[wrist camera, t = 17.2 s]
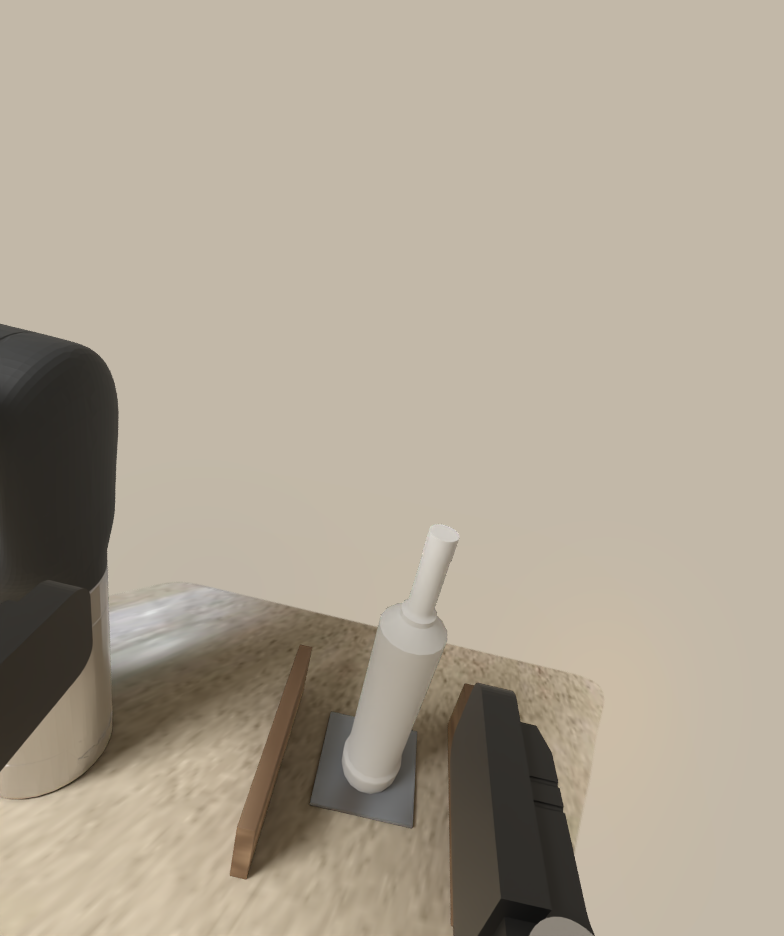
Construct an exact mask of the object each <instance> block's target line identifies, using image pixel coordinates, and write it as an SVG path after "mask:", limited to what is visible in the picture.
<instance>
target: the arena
mask: <svg viewBox="0 0 784 936" xmlns="http://www.w3.org/2000/svg"><path fill="white" fill-rule="evenodd" d="M311 651H312V647H309V646H304V645H300V646H299V649H298V651H297V654H296V657H295V660H294V663H293V666H292V669H291V672H290V675H289V678H288V680H287V683H286V686H285V689H284V692H283V695H282V698H281V701H280V704H279V707H278V710H277V712H276V715H275V718H274V721H273V724H272V727H271V730H270V733H269V736H268V739H267V742H266V744H265V747H264V750H263V753H262V756H261V759H260V762H259V765H258V768H257V771H256V773H255V776H254V779H253V782H252V785H251V788H250V791H249V794H248V797H247V800H246V803H245V805H244V808H243V811H242V814H241V817H240V820H239V823H238V826H237V831H236V837H235V844H234V850H233V857H232V864H231V870H230V876H234V877H238V878H242V879H247V876H248V872H249V869H250V866H251V862H252V859H253V856H254V853H255V849H256V846H257V843H258V839H259V836H260V833H261V829H262V826H263V823H264V819H265V816H266V813H267V809H268V806H269V803H270V799H271V796H272V793H273V790H274V786H275V783H276V780H277V776H278V773H279V770H280V766H281V763H282V760H283V756H284V753H285V750H286V746H287V743H288V740H289V736H290V733H291V730H292V727H293V723H294V720H295V717H296V713H297V710H298V707H299V703H300V700H301V697H302V693H303V690H304V685H305V680H306V675H307V670H308V666H309V661H310V656H311ZM473 687H474V685H470V684H464V686H463V689H462V691H461V694H460V696H459V698H458V701H457V703H456V706H455V708H454V711H453V713H452V716H451V718H450V720H449V723H448V773H449V833H450V894H451V926H453V883H452V833H451V782H450V756H451V747H452V741H453V736H454V733H455V730H456V727H457V725H458V722H459V720H460V718H461V715H462V713H463V711H464V708H465V706H466V703H467V701H468V699H469V696H470V694H471V692H472V689H473ZM354 719H355V717H353V716H349V715H344V714H340V713H336V712H332V711H331V714H330V718H329V723H328V727H327V731H326V736H325V740H324V744H323V749H322V753H321V757H320V762H319V766H318V770H317V775H316V779H315V784H314V788H313V792H312V797H311V801H310V805H313V806H317V807H321V808H326V809H330V810H334V811H339V812H343V813H347V814H352V815H356V816H360V817H365V818H369V819H373V820H378V821H382V822H386V823H391V824H395V825H399V826H404V827H408V828H412V827H413V809H414V788H415V766H416V744H417V731H413V730H411V733H410V735H409V738H408V740H407V743H406V745H405V748H404V750H403V753H402V758H401V767H400V769H399V772H398V773H397V775H396V777H395V779H394V781H393V782H392V784H391V785H390V786H389V787H387V788H386V789H384V790H383V791H382V792H379V793H373V794H368V793H364V792H360V791H358V790H357V789H356V788H354V787H353V786H351V785H350V783H349V782H348V780H347V779H346V777H345V776H344V771H343V766H342V755H343V750H344V745H345V741H346V740H347V738H348V737H349V736H350V734H351V731H352V727H353V723H354Z"/></svg>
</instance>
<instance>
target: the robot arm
mask: <svg viewBox="0 0 784 936" xmlns="http://www.w3.org/2000/svg"><path fill="white" fill-rule="evenodd" d="M117 442H118V399H117V393H116V388H115V383H114V380H113V378H112V375H111V372H110V370H109V368H108V367H107V365H106V363H105V362H104V360H103V359H102V358H101V357H100V356H99V355H98V354H97V353H95V352H94V351H93V350H91V349H90V348H88V347H85V346H83V345H80V344H78V343H75V342H71V341H67V340H63V339H60V338H56V337H52V336H48V335H44V334H40V333H36V332H32V331H28V330H24V329H19V328H15V327H11V326H7V325H3V324H0V797H2V798H7V799H25V798H31V797H37V796H40V795H43V794H46V793H49V792H52V791H55V790H57V789H59V788H61V787H63V786H65V785H67V784H69V783H70V782H72V781H73V780H75V779H76V778H78V777H79V776H81V775H82V774H83V773H84V772H85V771H87V770H88V769H89V768H90V767H91V766H92V765H93V764H94V763H95V762H96V761H97V759H98V758H99V757H100V755H101V754H102V753H103V751H104V749H105V748H106V746H107V744H108V742H109V739H110V736H111V732H112V716H113V711H112V685H111V654H110V624H109V597H108V570H107V569H108V568H107V548H108V543H109V538H110V534H111V529H112V524H113V519H114V511H115V482H116V458H117ZM450 782H451V833H452V883H453V933H454V936H595V935H594V933H593V930H592V928H591V925H590V922H589V919H588V915H587V912H586V908H585V903H584V898H583V894H582V889H581V884H580V880H579V875H578V871H577V866H576V861H575V857H574V852H573V848H572V843H571V838H570V834H569V829H568V825H567V820H566V816H565V813H563V807H564V806H563V802H562V797H561V793H560V788H558V779H557V774H556V770H555V765H554V760H553V756H552V752H551V751H550V749H549V747H548V745H547V744H546V742H545V740H544V738H543V737H542V735H541V733H540V731H539V730H538V728H537V726H535V725H531V724H527V723H522V722H520V717H519V711H518V705H517V699H516V696H515V693H514V692H513V691H510V690H506V689H502V688H498V687H493V686H489V685H485V684H481V683H476V684H475V685H474V687H473V689H472V692H471V694H470V696H469V699H468V701H467V703H466V706H465V708H464V711H463V713H462V715H461V718H460V720H459V722H458V725H457V727H456V730H455V733H454V736H453V741H452V747H451V756H450Z"/></svg>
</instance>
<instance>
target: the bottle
mask: <svg viewBox="0 0 784 936" xmlns="http://www.w3.org/2000/svg"><path fill="white" fill-rule="evenodd" d="M458 540H459V534H458V533H457V531H455V530H454V529H453V528H451V527H449V526H446V525H442V524H436V525H432V526H431V527H430V529H429V532H428V536H427V539H426V543H425V545H424V549H423V555H422V558H421V561H420V565H419V567H418V571H417V574H416V577H415V580H414V584H413V587H412V590H411V593H410V596H409V599H407V600H405V601H404V602H403V603H398V604H395V605H393V606H390V607H388V608H387V609H386V610H385V611H384V612H383V613H382V614H381V617H380V621H379V625H378V629H377V633H376V637H375V641H374V645H373V649H372V653H371V656H370V660H369V664H368V668H367V672H366V676H365V680H364V684H363V688H362V692H361V696H360V700H359V703H358V707H357V711H356V715H355V719H354V723H353V727H352V731H351V734H350V736H349V737H348V738H347V740H346V741H345V745H344V750H343V755H342V766H343V771H344V776H345V777H346V779H347V780H348V782H349V783H350V785H351V786H353V787H354V788H356V789H357V790H358V791H360V792H364V793H368V794H373V793H379V792H382V791H383V790H384V789H386V788H387V787H389V786H390V785H391V784H392V782H393V781H394V779H395V777H396V775H397V773H398V772H399V769H400V767H401V758H402V753H403V750H404V748H405V745H406V743H407V740H408V738H409V735H410V733H411V730H412V728H413V725H414V723H415V720H416V718H417V715H418V713H419V710H420V708H421V705H422V703H423V700H424V698H425V695H426V693H427V690H428V688H429V685H430V683H431V680H432V678H433V675H434V673H435V670H436V668H437V665H438V663H439V660H440V658H441V655H442V653H443V650H444V648H445V645H446V643H447V630H446V628H445V626H444V624H443V622H442V620H441V619H440V618H439V617H438V616H437V612H436V610H435V606H436V603H437V600H438V597H439V594H440V591H441V588H442V585H443V582H444V579H445V576H446V573H447V570H448V567H449V564H450V562H451V561H452V558H453V555H454V552H455V549H456V546H457V543H458Z"/></svg>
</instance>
